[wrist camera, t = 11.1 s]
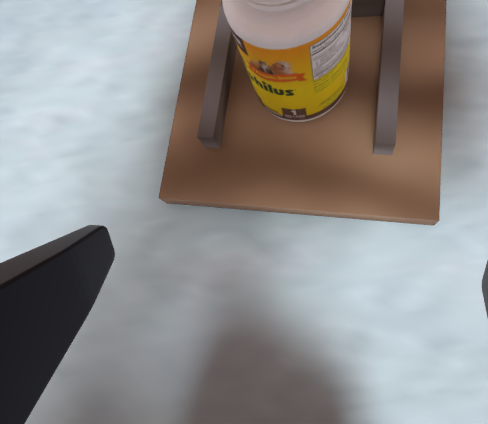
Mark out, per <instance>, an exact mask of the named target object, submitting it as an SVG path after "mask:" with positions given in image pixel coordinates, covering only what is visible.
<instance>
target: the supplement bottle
mask: <svg viewBox="0 0 488 424" xmlns="http://www.w3.org/2000/svg"><path fill="white" fill-rule="evenodd" d="M222 3H223V9H224V13H225V16H226V19H227V22H228V24H229V27H230V29H231V31H232V34H233V37H234V39H235V41H236V44H237V46H238V49H239V51H240V54H241V57H242V59H243V62H244V64H245V67H246V70H247V72H248V74H249V77H250V79H251V82H252V84H253V87H254V89H255V92H256V94H257V96H258V99H259V100H260V102H261V104H262V105H263V107H264V108H265V109H266V110H267V111H268V112H269V113H271V114H272V115H274V116H276V117H277V118H280V119H282V120H286V121H291V122H305V121H310V120H313V119H316V118H319V117H321V116H323V115H324V114H326V113H327V112H329V111H330V110H331V109H332V108H333V107H334V106H335V105H336V104H337V103H338V102H339V101H340V99H341V98H342V96H343V94H344V92H345V90H346V87H347V83H348V76H349V57H350V33H351V8H352V0H222Z"/></svg>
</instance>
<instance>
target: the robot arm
mask: <svg viewBox="0 0 488 424" xmlns="http://www.w3.org/2000/svg"><path fill="white" fill-rule="evenodd" d="M114 257H115V251H114V248H113V245H112V242H111V239H110V236H109V233H108V230H107V228H106V227H104V226H100V225H89V226H86V227H84V228H81V229H79V230H77V231H74V232H72V233H70V234H67V235H65V236H63V237H60V238H58V239H56V240H53V241H51V242H49V243H46V244H44V245H42V246H39V247H37V248H35V249H32V250H30V251H28V252H25V253H23V254H21V255H18V256H16V257H14V258H11V259H9V260H7V261H4V262H2V263H0V424H25V422H26V420H27V418H28V417H29V415H30V413H31V412H32V410H33V408H34V406H35V405H36V403H37V401H38V400H39V398H40V396H41V394H42V393H43V391H44V389H45V388H46V386H47V384H48V382H49V381H50V379H51V377H52V376H53V374H54V372H55V370H56V369H57V367H58V365H59V364H60V362H61V360H62V359H63V357H64V355H65V353H66V352H67V350H68V348H69V347H70V345H71V343H72V341H73V340H74V338H75V336H76V335H77V333H78V331H79V329H80V328H81V326H82V324H83V323H84V321H85V319H86V317H87V316H88V314H89V312H90V310H91V308H92V306H93V304H94V302H95V300H96V298H97V296H98V294H99V292H100V289H101V287H102V285H103V283H104V281H105V278H106V276H107V274H108V272H109V270H110V267H111V265H112V263H113V261H114ZM482 292H483V297H484V302H485V307H486V312H487V317H488V261H487V265H486V268H485V272H484V275H483V279H482Z"/></svg>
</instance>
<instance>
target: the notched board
mask: <svg viewBox="0 0 488 424" xmlns="http://www.w3.org/2000/svg"><path fill="white" fill-rule="evenodd" d="M445 25H446V0H352V8H351V33H350V57H349V76H348V83H347V87H346V90H345V92H344V94H343V96H342V98H341V99H340V101H339V102H338V103H337V104H336V105H335V106H334V107H333V108H332V109H331V110H330V111H329V112H327V113H326V114H324V115H323V116H321V117H319V118H316V119H313V120H310V121H305V122H291V121H286V120H282V119H280V118H277V117H276V116H274V115H272V114H271V113H269V112H268V111H267V110H266V109H265V108H264V107H263V105H262V104H261V102H260V100H259V99H258V96H257V94H256V92H255V89H254V87H253V84H252V82H251V79H250V77H249V74H248V72H247V70H246V67H245V64H244V62H243V59H242V57H241V54H240V51H239V49H238V46H237V44H236V41H235V39H234V37H233V34H232V31H231V29H230V27H229V24H228V22H227V19H226V16H225V13H224V9H223V3H222V0H197V1H196V6H195V11H194V16H193V22H192V27H191V32H190V37H189V42H188V48H187V53H186V58H185V63H184V68H183V74H182V79H181V84H180V89H179V94H178V100H177V105H176V110H175V115H174V120H173V126H172V131H171V136H170V141H169V146H168V152H167V157H166V162H165V167H164V172H163V178H162V183H161V188H160V193H159V199H161V200H163V201H164V202H166V203H172V204H184V205H196V206H208V207H220V208H232V209H244V210H256V211H268V212H280V213H292V214H304V215H316V216H328V217H340V218H352V219H364V220H376V221H388V222H400V223H412V224H424V225H435V224H436V223H437V222H438V221H439V207H440V177H441V146H442V116H443V86H444V55H445Z"/></svg>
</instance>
